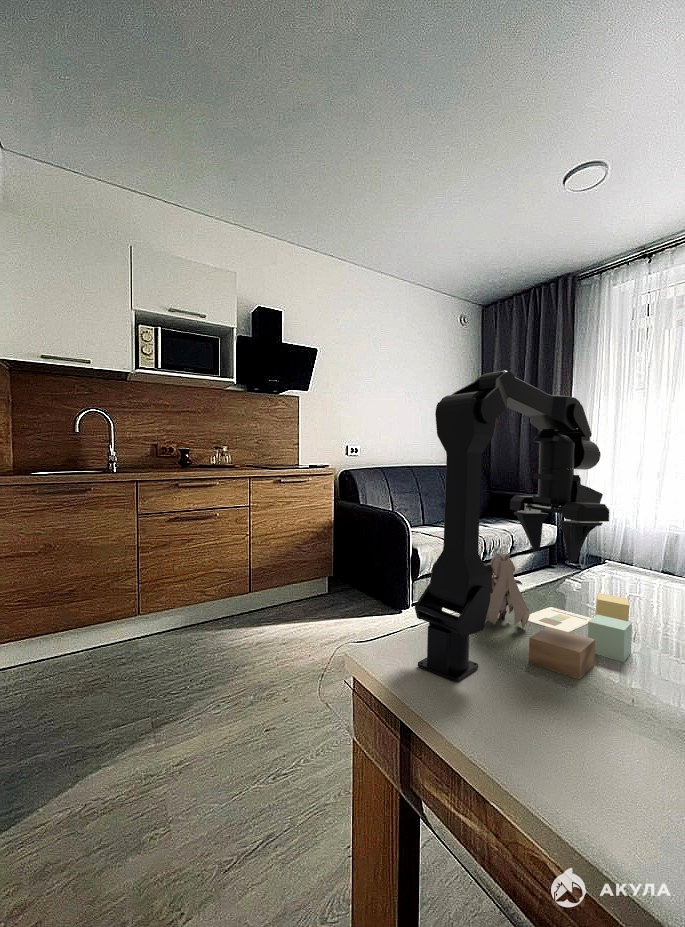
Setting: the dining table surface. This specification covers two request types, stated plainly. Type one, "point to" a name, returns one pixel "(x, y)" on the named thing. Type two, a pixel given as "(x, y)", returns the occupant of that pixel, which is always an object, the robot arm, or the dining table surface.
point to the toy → (505, 591)
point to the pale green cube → (611, 637)
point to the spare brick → (612, 606)
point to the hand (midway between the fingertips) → (553, 555)
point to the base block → (562, 652)
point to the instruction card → (558, 619)
